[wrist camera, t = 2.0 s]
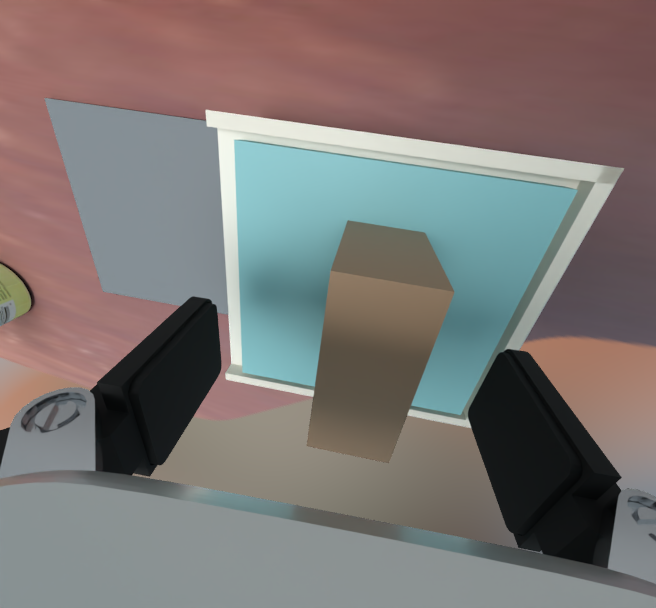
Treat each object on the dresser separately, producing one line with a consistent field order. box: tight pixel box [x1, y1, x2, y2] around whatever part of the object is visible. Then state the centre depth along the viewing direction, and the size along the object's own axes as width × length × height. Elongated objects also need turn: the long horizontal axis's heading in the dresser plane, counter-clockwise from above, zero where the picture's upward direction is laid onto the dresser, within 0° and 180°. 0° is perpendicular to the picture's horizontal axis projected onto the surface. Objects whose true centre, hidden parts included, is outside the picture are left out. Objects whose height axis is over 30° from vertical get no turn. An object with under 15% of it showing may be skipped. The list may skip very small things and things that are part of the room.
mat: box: [45, 98, 228, 314], centre depth 19 cm, size 11×12×1 cm
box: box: [206, 110, 624, 428], centre depth 16 cm, size 14×13×6 cm
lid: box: [234, 140, 578, 463], centre depth 11 cm, size 12×11×6 cm
